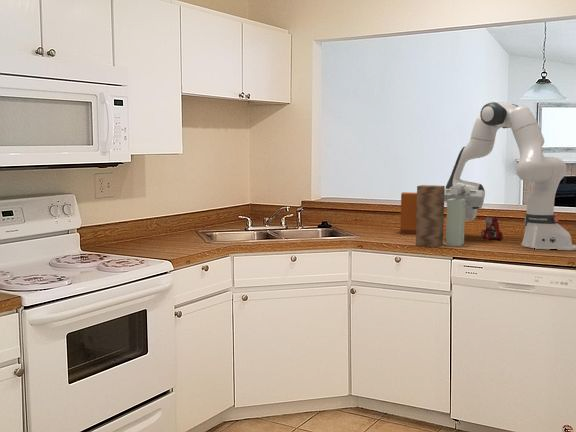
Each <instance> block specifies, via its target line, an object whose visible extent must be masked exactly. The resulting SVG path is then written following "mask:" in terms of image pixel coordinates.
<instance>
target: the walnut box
mask: <svg viewBox="0 0 576 432" xmlns="http://www.w3.org/2000/svg"><path fill="white" fill-rule="evenodd" d="M445 188H446V185H436V184H435V185H433V184H432V185H431V184H430V185H429V184H428V185H427V184H422V185H417V186H416V193H417V212H416V235H415V246H418V247H433V248H437V247H438V248H439V247H441V246H442V245H444V223H445V222H444V219H445V217H444V216H445V202H444V192H445Z"/></svg>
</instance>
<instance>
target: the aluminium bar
mask: <svg viewBox="0 0 576 432" xmlns="http://www.w3.org/2000/svg"><path fill="white" fill-rule="evenodd" d="M463 187H466V185H456V186H453V187H450V194H455V195H457V194H460V193H462V192H463Z"/></svg>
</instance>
